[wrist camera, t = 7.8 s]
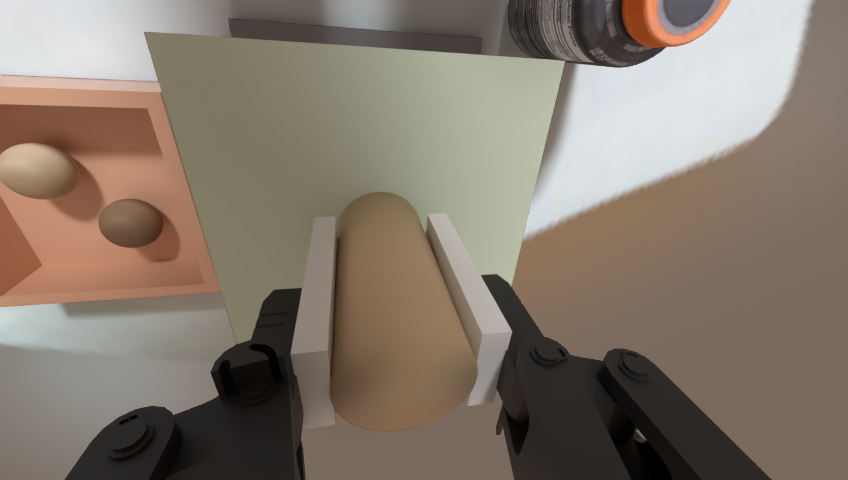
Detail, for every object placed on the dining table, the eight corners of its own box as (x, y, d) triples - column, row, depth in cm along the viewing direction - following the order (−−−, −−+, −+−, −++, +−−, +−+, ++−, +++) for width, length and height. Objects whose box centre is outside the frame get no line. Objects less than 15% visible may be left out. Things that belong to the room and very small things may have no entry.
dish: (-82, 71, 18) (-180, 79, 15) (190, 83, 21) (159, 92, 17) (40, 270, 25) (-8, 307, 21) (236, 260, 27) (220, 292, 24)
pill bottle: (604, -39, 22) (807, -98, 12) (571, 65, 24) (714, 83, 15) (519, -61, 20) (674, -148, 11) (495, 52, 23) (599, 63, 14)
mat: (231, 18, 20) (228, 18, 19) (479, 38, 22) (482, 38, 22) (273, 243, 27) (271, 246, 27) (454, 235, 30) (456, 238, 30)
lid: (156, 32, 11) (-261, 20, 3) (554, 59, 14) (804, 86, 6) (244, 345, 18) (171, 564, 10) (495, 321, 21) (579, 481, 13)
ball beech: (14, 136, 20) (-38, 151, 17) (79, 137, 20) (38, 152, 18) (42, 187, 21) (-2, 209, 19) (101, 187, 22) (67, 207, 19)
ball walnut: (108, 191, 22) (75, 212, 20) (163, 190, 23) (139, 211, 20) (126, 233, 24) (99, 258, 21) (177, 231, 25) (156, 256, 22)
